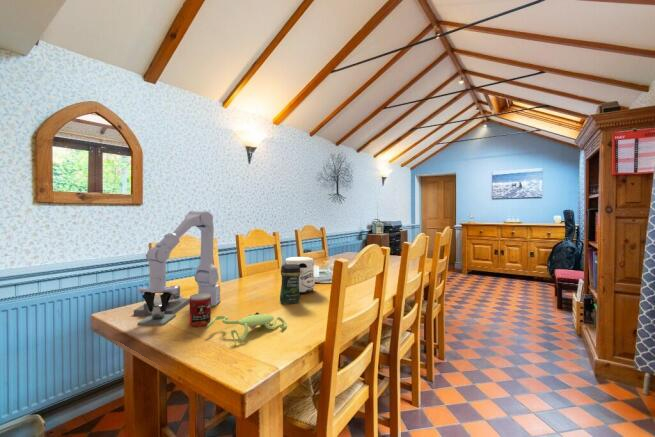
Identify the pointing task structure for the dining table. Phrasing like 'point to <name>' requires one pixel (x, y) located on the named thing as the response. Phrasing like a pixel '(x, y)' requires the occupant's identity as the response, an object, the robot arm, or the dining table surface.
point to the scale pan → (158, 299)
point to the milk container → (304, 273)
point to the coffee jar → (290, 284)
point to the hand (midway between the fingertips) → (157, 311)
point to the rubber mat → (162, 321)
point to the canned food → (200, 309)
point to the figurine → (250, 323)
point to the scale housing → (170, 309)
